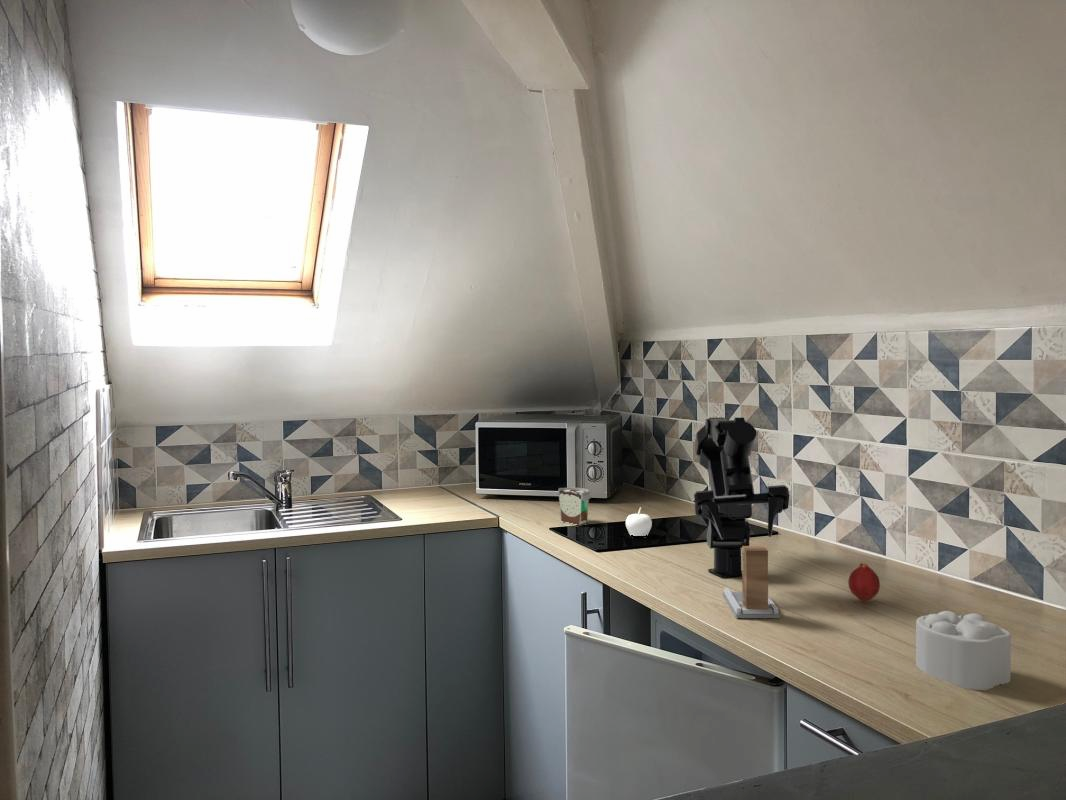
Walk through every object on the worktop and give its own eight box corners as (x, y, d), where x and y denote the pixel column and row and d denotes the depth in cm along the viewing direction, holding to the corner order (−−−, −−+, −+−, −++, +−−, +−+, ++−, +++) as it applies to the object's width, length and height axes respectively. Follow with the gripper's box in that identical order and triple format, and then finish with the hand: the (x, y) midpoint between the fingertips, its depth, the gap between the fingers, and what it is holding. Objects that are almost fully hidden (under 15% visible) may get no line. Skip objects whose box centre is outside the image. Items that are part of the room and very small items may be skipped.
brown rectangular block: (738, 606, 164) (737, 545, 163) (766, 606, 164) (766, 545, 163) (743, 613, 159) (742, 551, 158) (772, 613, 159) (772, 551, 158)
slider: (722, 596, 174) (722, 587, 174) (762, 596, 173) (762, 587, 173) (736, 618, 159) (736, 609, 159) (779, 618, 158) (779, 609, 158)
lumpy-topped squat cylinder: (976, 694, 123) (977, 634, 122) (898, 666, 134) (899, 611, 134) (1019, 679, 128) (1020, 622, 127) (941, 653, 139) (941, 601, 139)
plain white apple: (656, 538, 230) (656, 508, 229) (633, 540, 227) (632, 510, 227) (644, 533, 236) (644, 504, 236) (621, 535, 234) (621, 506, 233)
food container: (599, 525, 248) (599, 491, 248) (583, 527, 245) (582, 493, 244) (574, 518, 259) (573, 486, 258) (558, 521, 255) (557, 488, 255)
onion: (854, 596, 172) (854, 557, 172) (883, 601, 168) (883, 561, 168) (844, 603, 168) (844, 562, 167) (874, 608, 164) (874, 567, 164)
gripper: (780, 487, 183) (792, 553, 174) (692, 493, 186) (699, 558, 177) (783, 459, 175) (795, 526, 165) (691, 466, 178) (698, 533, 168)
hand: (746, 537), depth 169 cm, fingers open, 9 cm apart
